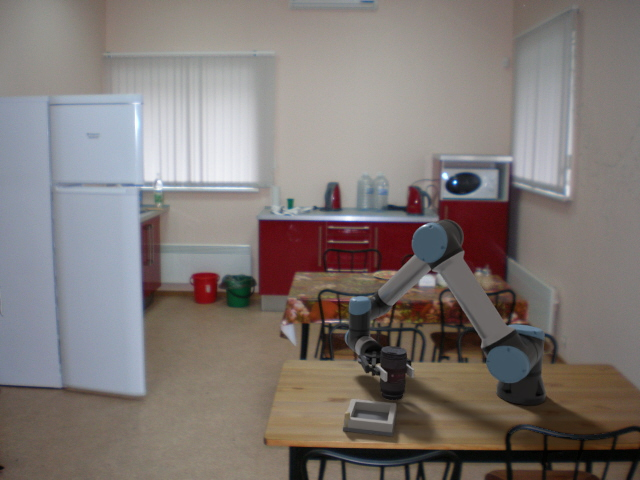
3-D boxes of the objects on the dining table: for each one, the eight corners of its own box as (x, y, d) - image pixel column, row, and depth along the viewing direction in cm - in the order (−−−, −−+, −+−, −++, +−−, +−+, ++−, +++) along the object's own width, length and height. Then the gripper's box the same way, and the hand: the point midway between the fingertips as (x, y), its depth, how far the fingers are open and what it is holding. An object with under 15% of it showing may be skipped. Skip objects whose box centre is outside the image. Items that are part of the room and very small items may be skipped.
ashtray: (396, 414, 179) (397, 398, 178) (392, 436, 166) (393, 419, 165) (350, 409, 182) (351, 393, 181) (342, 430, 168) (343, 414, 168)
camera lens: (405, 402, 180) (406, 355, 178) (378, 400, 182) (379, 353, 179) (406, 392, 188) (408, 346, 186) (380, 389, 190) (381, 344, 187)
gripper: (398, 358, 204) (430, 383, 183) (340, 364, 198) (366, 391, 176) (398, 337, 203) (431, 359, 182) (340, 343, 197) (367, 367, 175)
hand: (399, 375), depth 179 cm, fingers closed on camera lens, 8 cm apart
